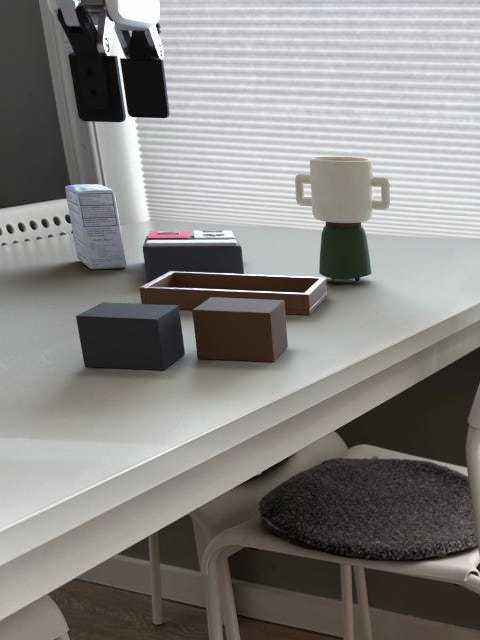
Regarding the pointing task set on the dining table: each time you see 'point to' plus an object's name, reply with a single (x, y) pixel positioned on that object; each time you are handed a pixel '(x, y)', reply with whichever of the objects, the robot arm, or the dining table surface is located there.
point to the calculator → (192, 252)
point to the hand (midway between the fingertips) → (127, 119)
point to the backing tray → (234, 289)
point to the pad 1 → (131, 336)
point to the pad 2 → (240, 329)
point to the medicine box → (96, 226)
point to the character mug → (342, 211)
